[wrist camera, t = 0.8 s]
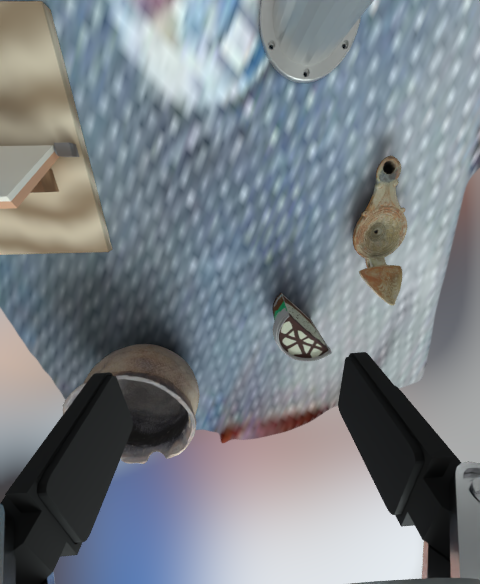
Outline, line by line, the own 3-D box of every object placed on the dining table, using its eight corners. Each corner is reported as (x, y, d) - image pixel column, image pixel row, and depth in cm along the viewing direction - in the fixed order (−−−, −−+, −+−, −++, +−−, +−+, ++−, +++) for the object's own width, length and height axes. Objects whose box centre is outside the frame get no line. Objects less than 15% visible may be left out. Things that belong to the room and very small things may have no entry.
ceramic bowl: (119, 400, 58) (84, 468, 44) (92, 327, 48) (37, 384, 35) (208, 396, 58) (201, 461, 44) (199, 322, 49) (186, 376, 35)
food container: (254, 308, 48) (259, 337, 39) (276, 287, 46) (287, 313, 37) (293, 340, 52) (306, 374, 42) (315, 323, 50) (333, 354, 41)
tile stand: (-118, 10, 28) (-178, -19, 24) (50, 9, 29) (20, -19, 24) (-3, 252, 41) (-28, 260, 37) (112, 249, 41) (99, 256, 37)
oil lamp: (339, 283, 46) (366, 308, 37) (353, 159, 37) (393, 152, 28) (383, 279, 46) (420, 303, 37) (408, 154, 37) (465, 145, 28)
